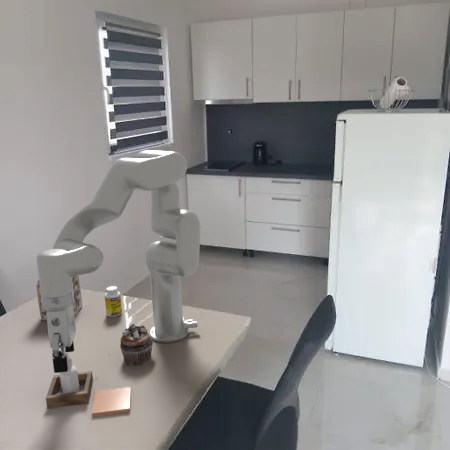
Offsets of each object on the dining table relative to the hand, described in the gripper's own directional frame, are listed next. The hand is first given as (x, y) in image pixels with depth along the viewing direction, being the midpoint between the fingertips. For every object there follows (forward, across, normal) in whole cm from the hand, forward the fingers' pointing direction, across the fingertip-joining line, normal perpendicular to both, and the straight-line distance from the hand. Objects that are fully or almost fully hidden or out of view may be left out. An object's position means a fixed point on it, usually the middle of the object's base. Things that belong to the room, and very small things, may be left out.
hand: (64, 361), depth 114 cm
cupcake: (+10, +15, -18) cm, 25 cm away
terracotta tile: (+10, -5, -12) cm, 16 cm away
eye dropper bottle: (+10, +1, -1) cm, 10 cm away
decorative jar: (+10, +52, +10) cm, 53 cm away
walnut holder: (+10, +1, -1) cm, 10 cm away
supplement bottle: (+9, +47, -9) cm, 48 cm away
